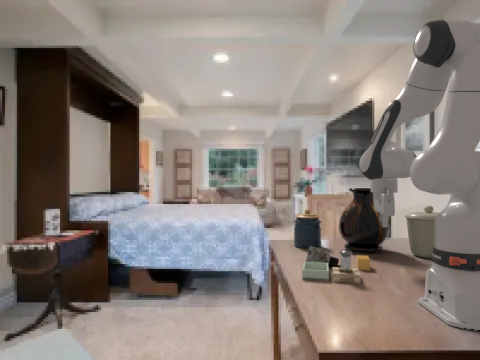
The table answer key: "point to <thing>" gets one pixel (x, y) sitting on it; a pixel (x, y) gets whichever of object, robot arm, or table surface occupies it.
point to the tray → (315, 271)
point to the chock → (362, 262)
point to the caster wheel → (320, 256)
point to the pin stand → (346, 275)
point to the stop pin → (346, 261)
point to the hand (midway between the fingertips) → (383, 226)
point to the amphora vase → (362, 224)
